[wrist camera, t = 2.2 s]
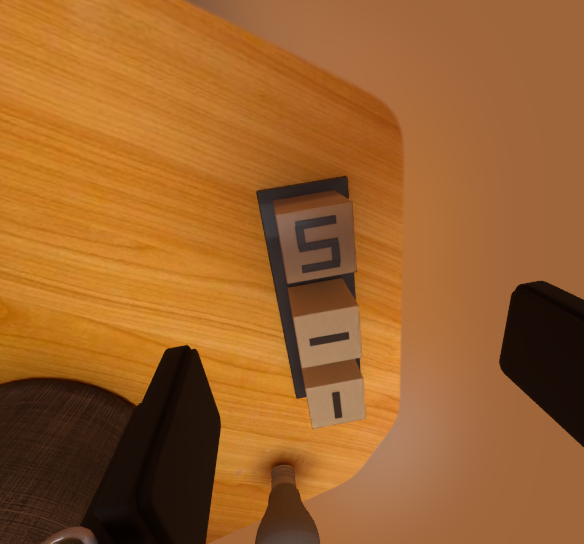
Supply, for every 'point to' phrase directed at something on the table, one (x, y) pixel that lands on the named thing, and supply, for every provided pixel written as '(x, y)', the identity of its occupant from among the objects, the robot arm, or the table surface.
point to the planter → (53, 454)
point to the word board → (279, 263)
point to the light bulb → (286, 513)
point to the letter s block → (316, 235)
